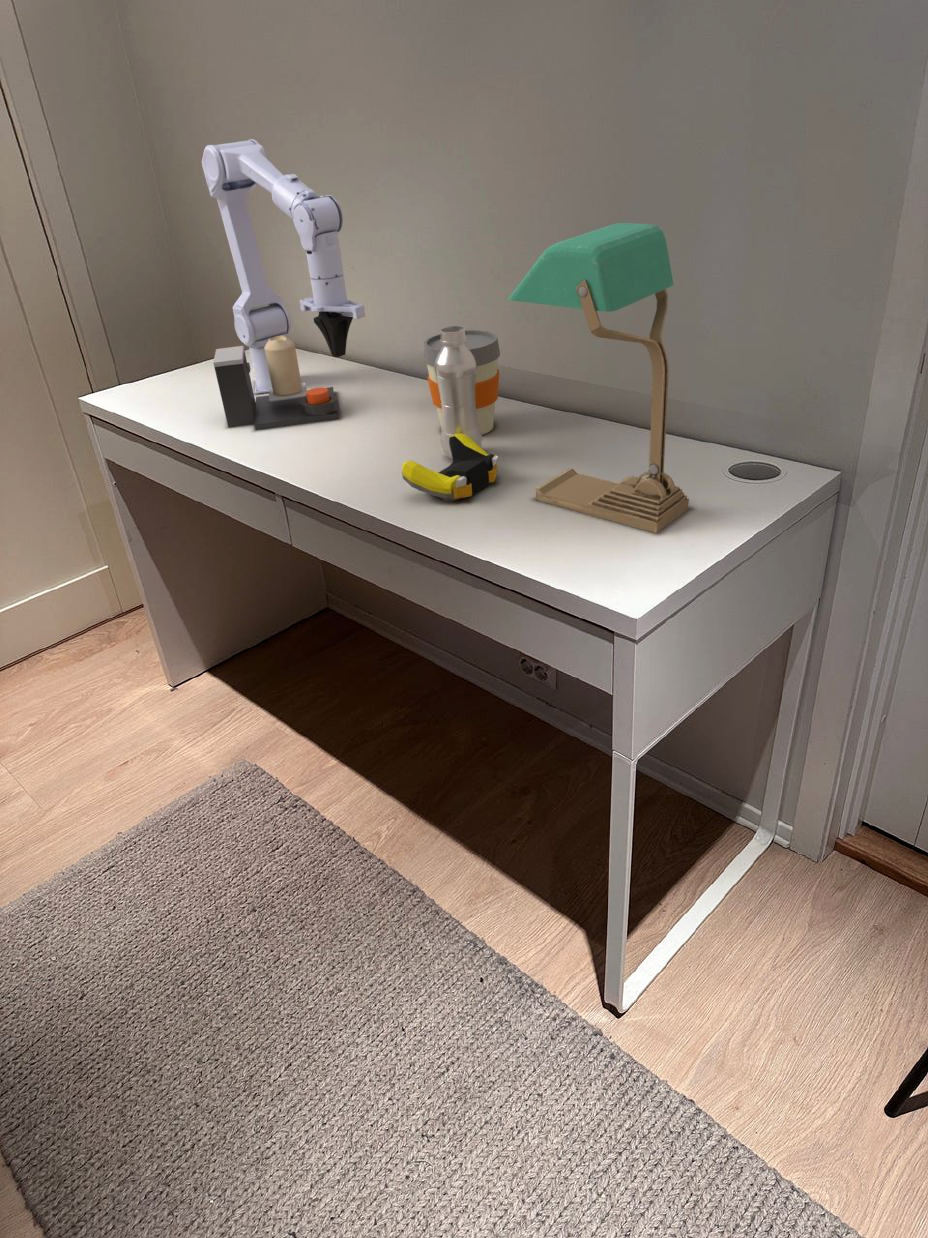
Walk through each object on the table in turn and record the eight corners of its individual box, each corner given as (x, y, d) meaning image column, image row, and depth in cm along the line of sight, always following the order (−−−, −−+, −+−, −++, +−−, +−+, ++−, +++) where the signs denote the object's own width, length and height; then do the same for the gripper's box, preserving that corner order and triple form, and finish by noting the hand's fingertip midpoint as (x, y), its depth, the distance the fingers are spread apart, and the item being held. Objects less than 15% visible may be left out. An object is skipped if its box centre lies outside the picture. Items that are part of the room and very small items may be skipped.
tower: (230, 409, 168) (216, 346, 162) (308, 399, 170) (297, 336, 164) (228, 427, 160) (213, 362, 153) (310, 416, 161) (298, 351, 155)
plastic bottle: (491, 453, 140) (484, 326, 129) (463, 467, 136) (452, 337, 125) (462, 445, 144) (452, 320, 133) (433, 458, 140) (421, 331, 129)
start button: (307, 399, 162) (305, 388, 160) (329, 396, 162) (327, 386, 161) (308, 406, 158) (306, 395, 157) (330, 403, 159) (328, 392, 158)
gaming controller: (398, 498, 128) (452, 512, 123) (394, 463, 125) (449, 476, 120) (459, 461, 138) (511, 473, 133) (456, 428, 135) (510, 438, 130)
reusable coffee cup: (518, 428, 148) (514, 339, 140) (455, 447, 143) (447, 356, 135) (478, 409, 158) (472, 325, 149) (418, 427, 152) (408, 340, 144)
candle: (299, 394, 162) (290, 340, 157) (270, 396, 162) (259, 342, 157) (304, 385, 167) (295, 332, 161) (276, 387, 167) (266, 334, 162)
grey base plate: (257, 402, 171) (253, 387, 169) (335, 392, 172) (333, 377, 171) (255, 430, 157) (252, 414, 156) (341, 419, 159) (338, 403, 157)
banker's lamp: (641, 544, 111) (652, 251, 92) (512, 507, 123) (498, 240, 104) (701, 498, 121) (722, 224, 102) (575, 468, 133) (573, 217, 114)
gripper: (281, 277, 151) (295, 356, 158) (338, 284, 143) (350, 366, 150) (312, 268, 155) (324, 345, 163) (369, 274, 147) (379, 355, 154)
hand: (339, 355), depth 156 cm, fingers closed
